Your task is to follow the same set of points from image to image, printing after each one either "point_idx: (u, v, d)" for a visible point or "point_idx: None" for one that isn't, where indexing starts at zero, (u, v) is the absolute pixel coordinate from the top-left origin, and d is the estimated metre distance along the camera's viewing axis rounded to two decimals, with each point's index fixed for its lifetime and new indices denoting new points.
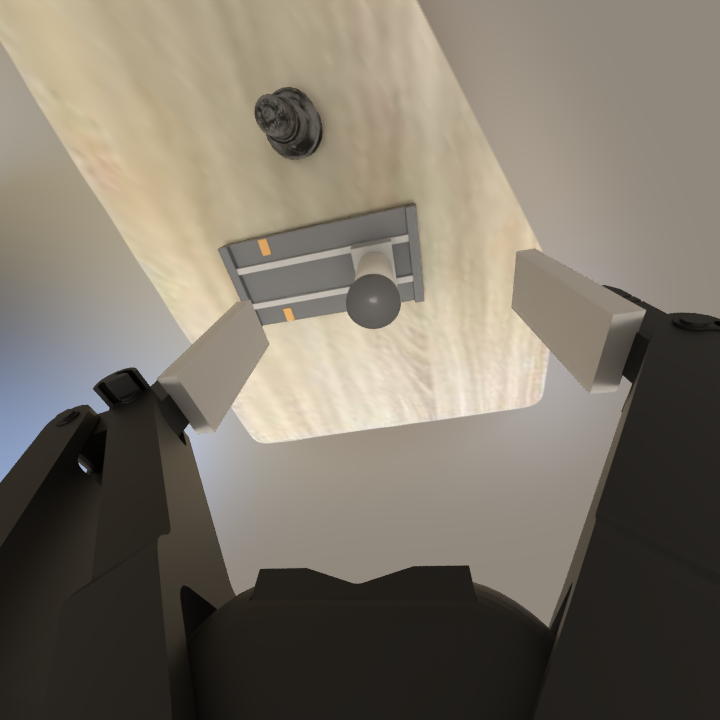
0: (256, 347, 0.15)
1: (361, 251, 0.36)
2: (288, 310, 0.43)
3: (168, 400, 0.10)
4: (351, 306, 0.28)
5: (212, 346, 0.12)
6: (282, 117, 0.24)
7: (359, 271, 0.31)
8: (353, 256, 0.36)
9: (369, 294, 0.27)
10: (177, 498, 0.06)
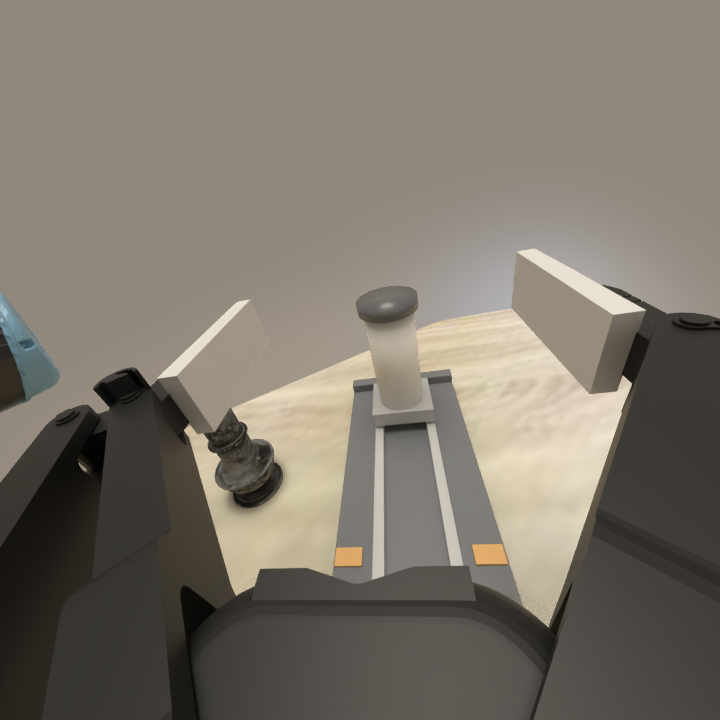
0: (256, 347, 0.15)
1: (377, 406, 0.30)
2: (478, 551, 0.20)
3: (168, 400, 0.10)
4: (384, 308, 0.23)
5: (212, 346, 0.12)
6: None
7: (375, 359, 0.27)
8: (380, 413, 0.29)
9: (374, 300, 0.25)
10: (177, 498, 0.06)
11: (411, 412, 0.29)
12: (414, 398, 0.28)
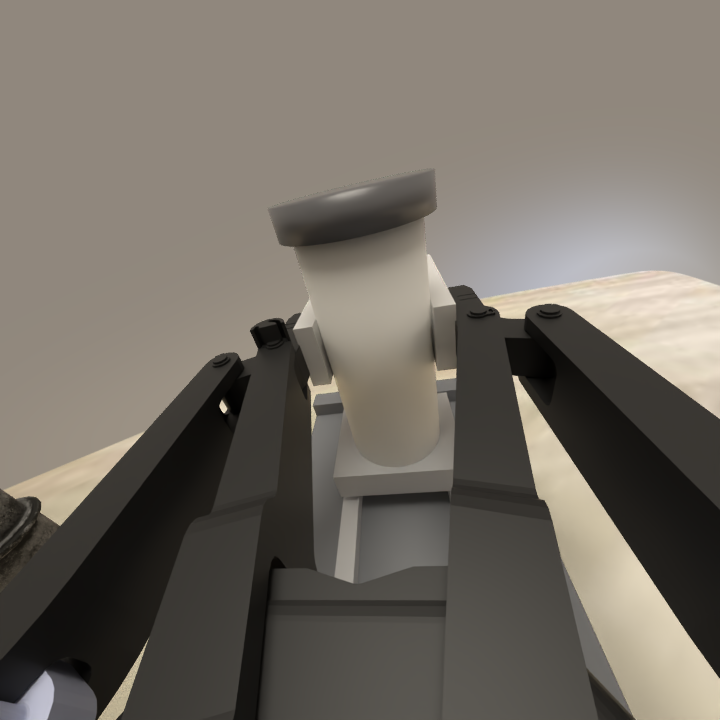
0: None
1: (346, 454, 0.14)
2: None
3: (299, 350, 0.11)
4: (335, 195, 0.07)
5: None
6: None
7: (330, 357, 0.11)
8: (351, 472, 0.13)
9: (317, 195, 0.09)
10: (289, 457, 0.07)
11: (417, 473, 0.13)
12: (424, 442, 0.13)
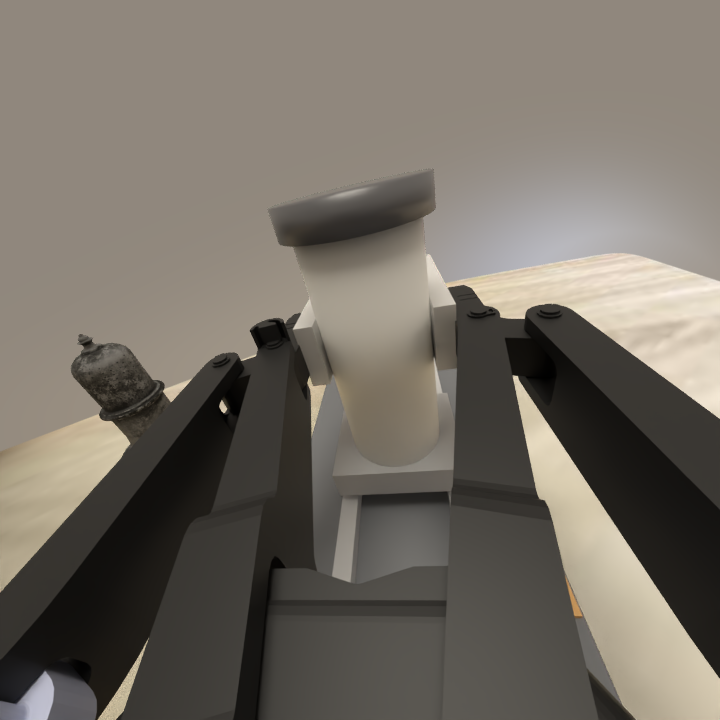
0: None
1: (345, 453, 0.14)
2: None
3: (299, 350, 0.11)
4: (333, 195, 0.07)
5: None
6: None
7: (329, 356, 0.11)
8: (350, 471, 0.14)
9: (316, 196, 0.09)
10: (289, 457, 0.07)
11: (416, 472, 0.13)
12: (423, 442, 0.13)
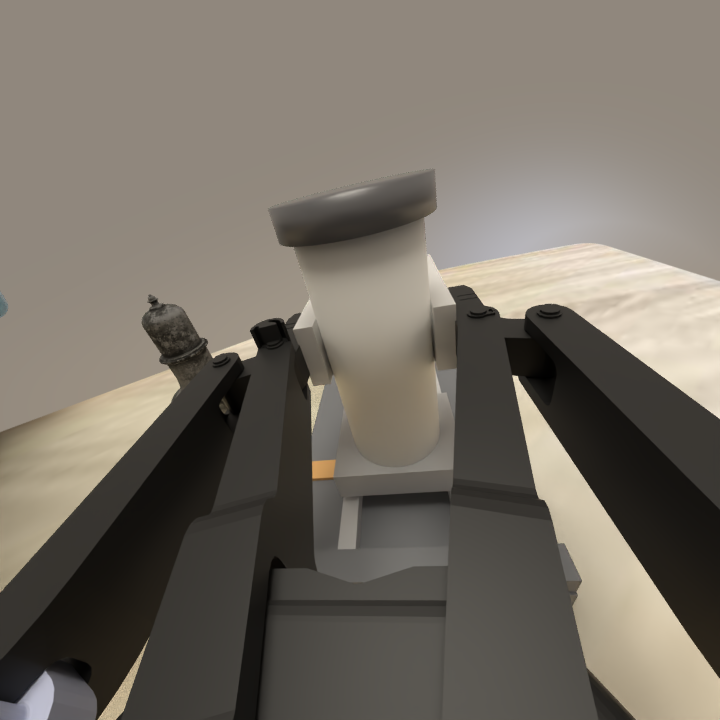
0: None
1: (346, 454, 0.14)
2: None
3: (299, 350, 0.11)
4: (336, 195, 0.07)
5: None
6: (172, 304, 0.22)
7: (330, 357, 0.11)
8: (351, 472, 0.13)
9: (317, 196, 0.09)
10: (289, 456, 0.07)
11: (417, 473, 0.13)
12: (424, 442, 0.13)
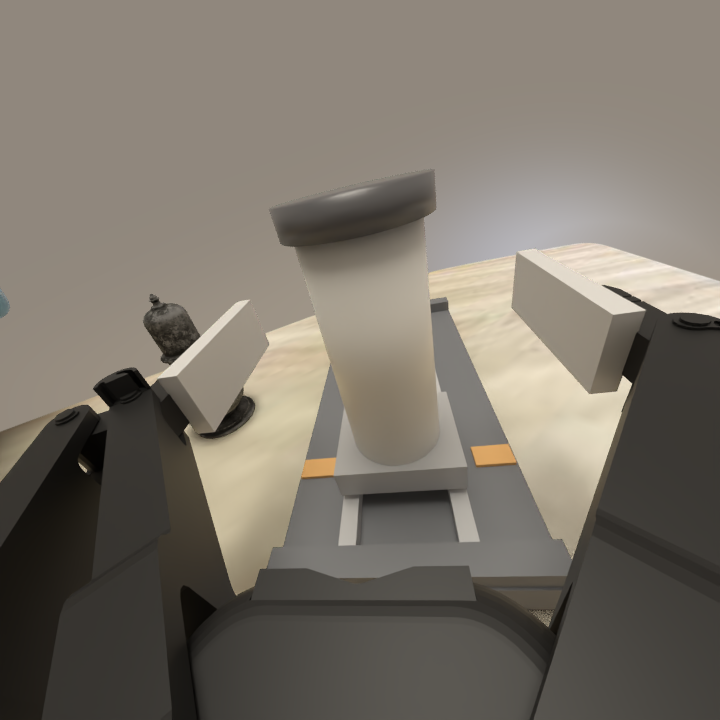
0: (256, 347, 0.15)
1: (346, 452, 0.14)
2: (479, 452, 0.16)
3: (168, 400, 0.10)
4: (336, 195, 0.08)
5: (212, 346, 0.12)
6: (173, 304, 0.22)
7: (331, 356, 0.11)
8: (351, 470, 0.14)
9: (317, 196, 0.09)
10: (177, 498, 0.06)
11: (417, 471, 0.13)
12: (423, 441, 0.13)
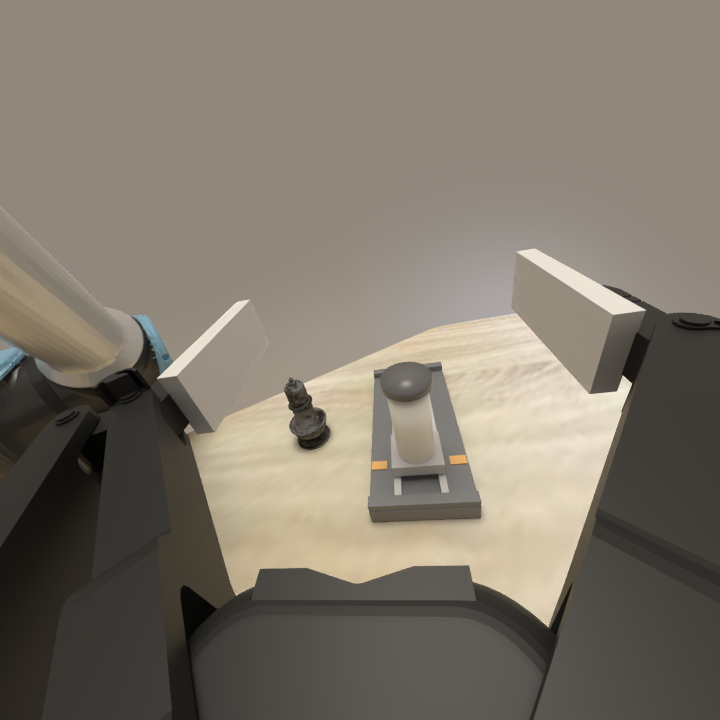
0: (256, 347, 0.15)
1: (395, 458, 0.35)
2: (452, 458, 0.36)
3: (168, 400, 0.10)
4: (404, 390, 0.28)
5: (212, 346, 0.12)
6: (297, 380, 0.42)
7: (394, 424, 0.31)
8: (398, 466, 0.34)
9: (395, 379, 0.29)
10: (177, 498, 0.06)
11: (425, 466, 0.33)
12: (428, 454, 0.33)
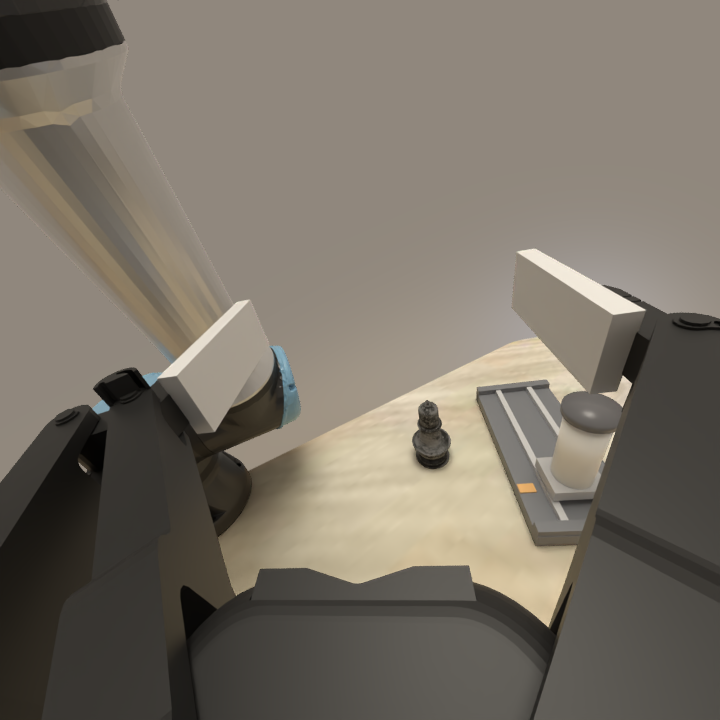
0: (256, 347, 0.15)
1: (554, 483, 0.35)
2: None
3: (168, 400, 0.10)
4: (603, 422, 0.28)
5: (212, 346, 0.12)
6: None
7: (569, 452, 0.32)
8: (562, 491, 0.34)
9: (582, 410, 0.30)
10: (177, 498, 0.06)
11: (590, 492, 0.34)
12: (593, 480, 0.34)
